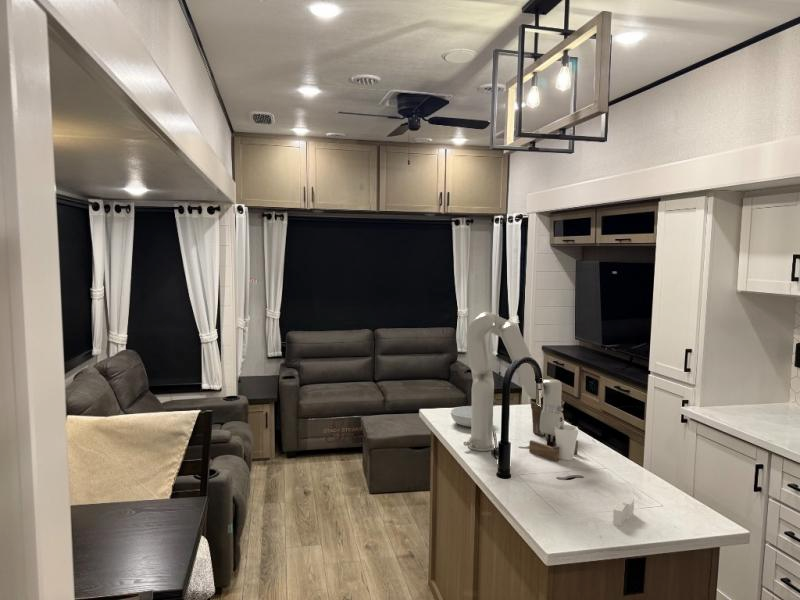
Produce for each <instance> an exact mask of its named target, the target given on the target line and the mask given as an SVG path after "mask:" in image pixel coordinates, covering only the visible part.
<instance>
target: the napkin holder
mask: <svg viewBox="0 0 800 600" xmlns="http://www.w3.org/2000/svg"><path fill="white" fill-rule="evenodd" d="M634 508H635V500H634V499H632V498H629V497H626V498H625V499H624V501H618V502H617V504H616V505H615V507H614V508H613V514H612V515H613V516H612V518H613V519H612V525H613V526H617V527H622V526H623V524H624V523H625V521H626V520H627V521H628V520H631V519H632V517H633V516H634Z"/></svg>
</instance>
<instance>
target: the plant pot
mask: <svg viewBox="0 0 800 600" xmlns="http://www.w3.org/2000/svg"><path fill="white" fill-rule="evenodd" d="M529 401H530V409H531V417H532V418H531V419H532V432H533V434H535V435H538V436H539V437H544V438H545V436H544V435H543V434H541V433H540V416H541V412H542V410H543V396H542V398H541V407H540V406H538V405H537V404H536V399H533V398H531V397H530V398H529ZM564 405H565V401H564V400H563V399H561V408H563V409H564ZM561 412H562V413H563V411H561Z"/></svg>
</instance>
